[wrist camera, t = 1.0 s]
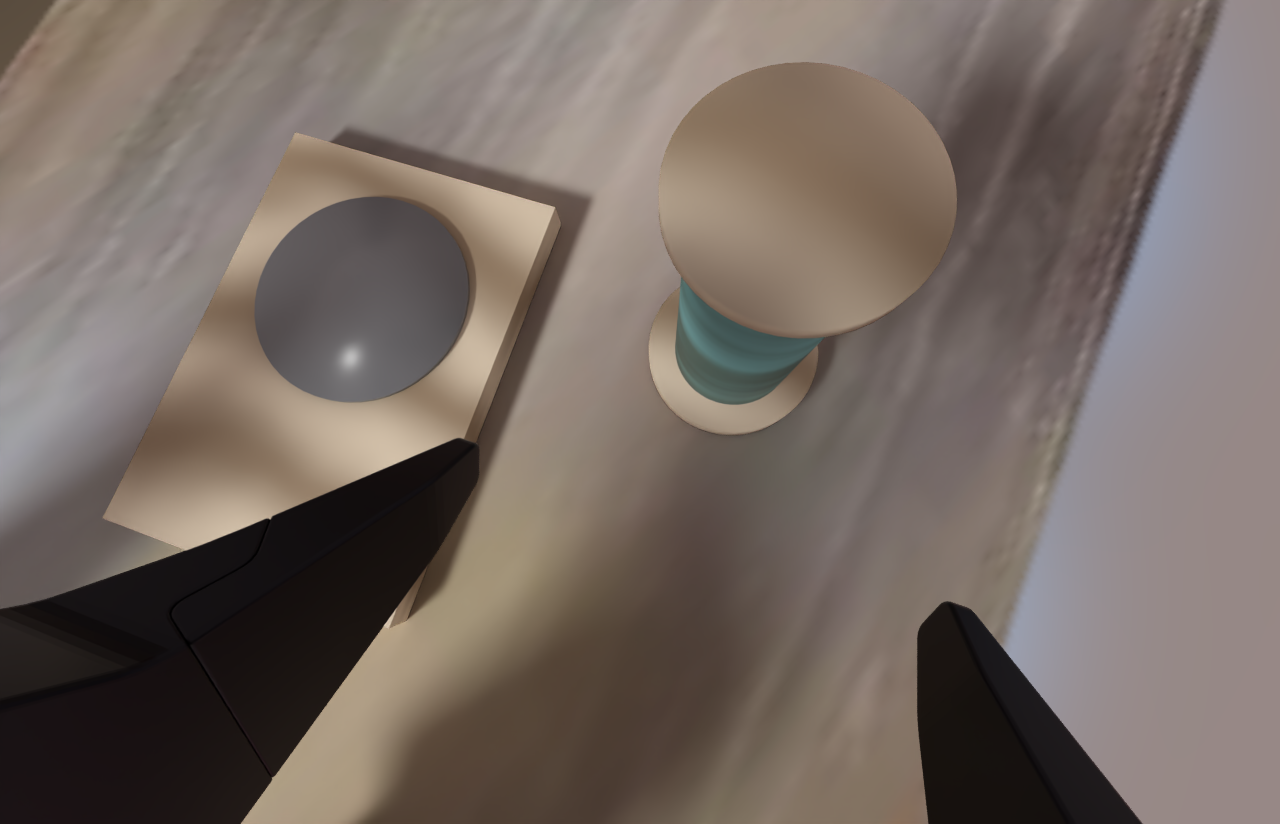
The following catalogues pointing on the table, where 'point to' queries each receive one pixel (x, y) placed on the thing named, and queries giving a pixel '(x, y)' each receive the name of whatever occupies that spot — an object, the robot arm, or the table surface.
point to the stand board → (337, 342)
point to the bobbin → (789, 234)
